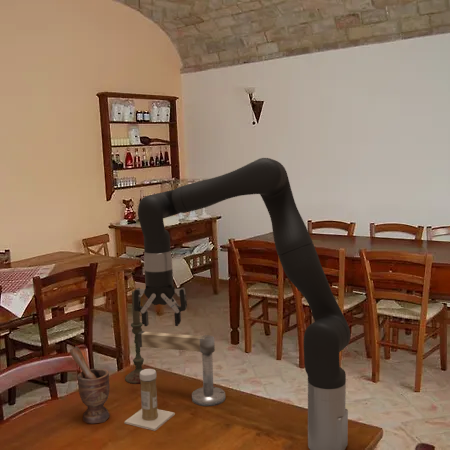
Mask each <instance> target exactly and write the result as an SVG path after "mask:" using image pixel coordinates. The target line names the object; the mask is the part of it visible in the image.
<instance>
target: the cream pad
mask: <svg viewBox="0 0 450 450" xmlns="http://www.w3.org/2000/svg"><path fill="white" fill-rule="evenodd" d="M157 413H158V417H157V418H156V419H154V420H145V419H143V418H142V408H141V409H139V410H138V411H136V412H135V413H134V414H133V415H131V416H130V417H128V418H127V419H126V420H124V424H125V425H130V426H134V427H138V428H140V429H141V428H142V429H146V430H149V431H154V432H156V431H157V430H158V429H159V428H161V427H162V426H164V424H165V423H166V422H168V421H169V420H170V419H171V418H173V417H174V416H175V414H176V413H175V412H173V411H168V410H164V409H159V408H157Z"/></svg>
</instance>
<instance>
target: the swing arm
mask: <svg viewBox="0 0 450 450" xmlns="http://www.w3.org/2000/svg"><path fill="white" fill-rule="evenodd" d="M215 346H216V345H215V337H214V336H213V335H206V334H205V335H196V334H195V335H192V334H183V333H181V334H180V333H167V332H166V333H165V332H156V331H155V332H154V331H144V330H142V331H141V332H139V333H138V347H140V348H150V349H151V348H153V349H164V350H173V351H174V350H175V351H176V350H177V351H189V352H200V354H202V353H206V354H207V353H212V354H213V353H214V352H215V350H216V347H215Z"/></svg>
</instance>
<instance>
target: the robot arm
mask: <svg viewBox="0 0 450 450" xmlns="http://www.w3.org/2000/svg"><path fill="white" fill-rule="evenodd" d="M290 183H291V182H290V180H289V176H288V172H287V170H286V168H285V167H284V165H283V164H282V163H281V162H279V161H278V160H275V159H272V158H269V157H261V158H258V159H256V160H254V161H252V162H250V163H247V164H246V165H244V166H241V167H239V168H237V169H235V170H232V171H230V172H228V173H224V174H222V175H218V176H215V177H212V178H211V177H210V178H207V179H203V180H200V181H195V182H193V183H189V184H185V185H182V186H179V187H176V188H174V189H171V190H165V191H163V192H162V191H161V192H159V193H154V194H149V195H145V196H144V197H142V198H141V199H140V201H139V204H138V206H137V207H138V208H137V215H138V216H137V217H138V221H139V224H140V228H141V229H140V230H141V232H142V236H143V247H144V249H143V250H144V255H143V256H144V257H143V260H144V261H143V269H144V279H145V288H140V287H137V288H136V289H134V290H135V291H134V290H133V291H134V310H135V311H139V313H140V314H141V323H142V324H143V326H144V327H149V325H150V324H149V311H148V309H149V308H150V306H151V305H154V306H157V305H158V306H159V305H162V306H165V305H168V306H169V307H170V308H171V309H172V310H173V311H174V326H175V327H179V325H180V324H181V322H182V317H181V316H182V314H181V313H182V312H183V311H186V309H187V308H188V302H187V301H188V300H187V294H186V287H181V288H175V286H174V273H173V271H174V270H173V257H172V251H171V250H172V249H171V237H170V232H169V231H168V230H167V229H165V223H164V219H166V218H169V217H172V216H175V215H179V214H186V213H191V212H195V211H197V210H201V209H204V208H208V207H210V206H213V205H216V204H218V203H221V202H223V201H226V200H229V199H232V198H237V197H241V196H242V197H243V196H251V195H260V197H261V198H262V199H261V200H262V201H263V203H264V206H265V208H266V210H267V213H268V215H269V218H270V222H271V229H272V235H273V243H274V246H275V251H276V254H277V256H278V259H279V261H280V264H281V267H282V269H283V271H284V274H285V275H286V277H287V278H288V280H289V281H290V282H291V283H292V285H293V286H295V288H296V289H297V290H298V291H299V293H301V295H302V296H303V297H304V299H305V301H306V302H307V304H308V306H309V309H310V312H311V313H312V317H313V320H314V321H313V322H312V323H311V324H309V325H308V326H307V327H306V329H305V331H304V335H303V358H304V359H303V361H304V369H305V373H306V375H307V447H308V449H309V450H346V448H347V447H348V445H349V444H348V442H349V441H348V440H349V439H348V436H349V434H348V432H349V430H348V429H349V425H348V424H349V423H348V422H349V421H348V419H349V418H348V417H349V416H348V415H349V411H348V409H347V408H346V404H347V403H346V400H347V398H346V390H347V388H346V387H347V386H346V385H347V383H346V382H347V381H346V380H347V379H346V378H347V377H346V371H345V369H344V368H342V367H340V352H342V351H343V350H344V349H346V347H347V346H348V345H349V343H350V342H351V341H350V340H351V329H350V326H349V323H348V321H347V319H346V318H345V315H344V314H343V311H342V310H341V308H340V306H339V303H338V302H337V300H336V298H335V296H334V294H333V291H332V289H331V287H330V284H329V281H328V278H327V276H326V274H325V271H324V269H323V267H322V264H321V261H320V258H319V255H318V252H317V250H316V247H315V245H314V242H313V240H312V238H311V235H310V233H309V231H308V228H307V226H306V224H305V222H304V220H303V217H302V215H301V214H300V212H299V210H298V207H297V204H296V201H295V198H294V193H293V191H292V187H291V184H290ZM175 294H176V295H177V297H179V300H180V305H179V304H178V303H177V301H176V299H175V298H174V295H175ZM143 295H145V296H146V298H147V301H146V302H145V304H144V305H143V306H142V305H141V301H142V299H141V298H142V296H143Z"/></svg>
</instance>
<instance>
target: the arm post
mask: <svg viewBox="0 0 450 450" xmlns="http://www.w3.org/2000/svg"><path fill="white" fill-rule="evenodd" d="M201 356H202V357H201V358H202V361H201V362H202V384H203V385H202V387H199V388H197V389H195V390H193V392H192V393H191V401H192V403H194V404H195V405H198V406H200V407H213V406H218V405H220V404H223V403H224V402H225V400H226V392H225V390H223V389H222V388H221V387H216V386H214V364H213V362H214V361H213V360H214V359H213V353H207V354H206V353H201Z"/></svg>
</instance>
